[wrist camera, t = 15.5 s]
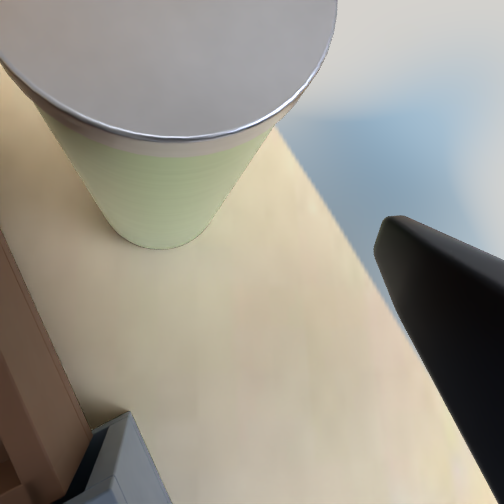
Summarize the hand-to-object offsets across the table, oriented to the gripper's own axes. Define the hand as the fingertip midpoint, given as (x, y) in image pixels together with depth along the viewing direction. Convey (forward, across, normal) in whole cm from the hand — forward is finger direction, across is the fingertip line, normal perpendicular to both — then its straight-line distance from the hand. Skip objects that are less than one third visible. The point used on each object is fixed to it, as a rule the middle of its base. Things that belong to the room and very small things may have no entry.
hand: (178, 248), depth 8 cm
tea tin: (+9, 0, +4) cm, 10 cm away
